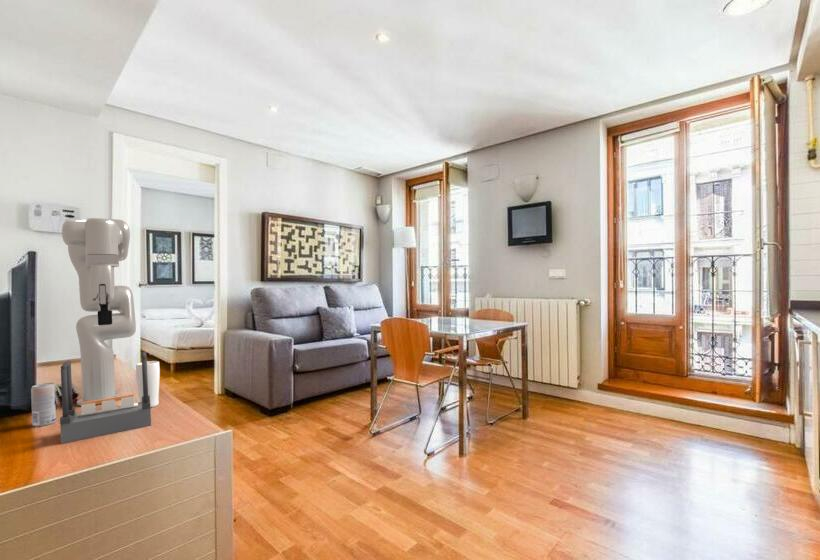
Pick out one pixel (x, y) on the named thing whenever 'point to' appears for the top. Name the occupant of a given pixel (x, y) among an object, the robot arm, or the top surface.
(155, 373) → the white cylinder
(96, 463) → the top surface
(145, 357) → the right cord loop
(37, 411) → the energy drink
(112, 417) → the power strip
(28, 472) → the top surface
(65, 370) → the dark gray upright panel
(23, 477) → the top surface
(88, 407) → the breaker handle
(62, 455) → the top surface
